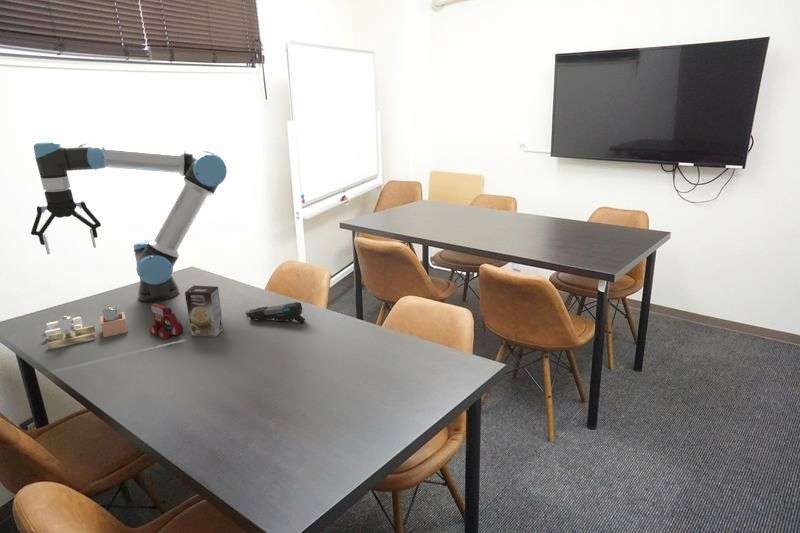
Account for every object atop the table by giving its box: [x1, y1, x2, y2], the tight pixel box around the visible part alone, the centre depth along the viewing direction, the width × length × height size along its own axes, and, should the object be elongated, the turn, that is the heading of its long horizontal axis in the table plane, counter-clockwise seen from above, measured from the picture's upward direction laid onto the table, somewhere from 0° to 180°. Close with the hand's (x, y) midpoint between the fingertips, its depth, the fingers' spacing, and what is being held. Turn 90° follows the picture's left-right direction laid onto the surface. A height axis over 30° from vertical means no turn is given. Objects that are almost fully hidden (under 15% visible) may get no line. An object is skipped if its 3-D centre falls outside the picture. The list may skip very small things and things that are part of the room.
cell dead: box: [102, 306, 119, 322], centre depth 166 cm, size 4×4×9 cm
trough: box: [46, 325, 97, 350], centre depth 162 cm, size 13×8×3 cm, turn 121°
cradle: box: [44, 316, 83, 340], centre depth 168 cm, size 10×9×3 cm
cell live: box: [57, 315, 77, 339], centre depth 160 cm, size 4×4×9 cm
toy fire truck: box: [149, 303, 184, 340], centre depth 164 cm, size 7×12×10 cm, turn 57°
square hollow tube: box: [99, 311, 129, 338], centre depth 167 cm, size 7×7×6 cm
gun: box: [245, 301, 306, 324], centre depth 174 cm, size 4×20×10 cm, turn 80°
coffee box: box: [184, 285, 224, 338], centre depth 164 cm, size 9×6×16 cm
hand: (72, 250), depth 170 cm, fingers open, 13 cm apart
